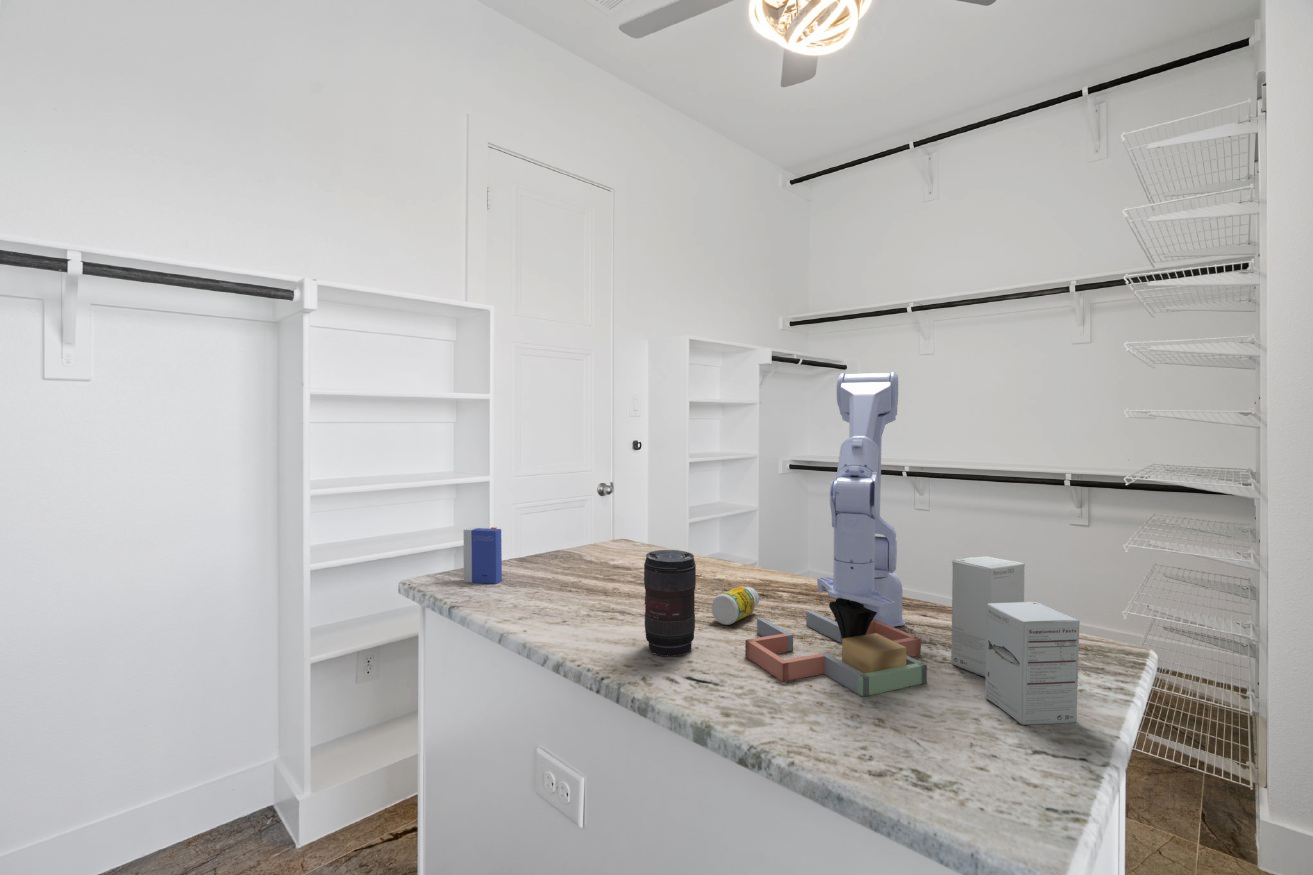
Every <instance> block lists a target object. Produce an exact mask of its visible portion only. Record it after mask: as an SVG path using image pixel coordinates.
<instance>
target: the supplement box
mask: <svg viewBox="0 0 1313 875" xmlns="http://www.w3.org/2000/svg"><path fill="white" fill-rule="evenodd" d="M1079 646H1080V620H1079V619H1077V618H1075V617H1073V616H1070V615H1068V614H1065V613H1063V612H1060V611H1058V610H1056V609H1053V608H1051V607H1049V606H1047V605H1045V604H1043V603H1040V602H1038V601H1037V602H1036V601H1024V602H1014V603H990V604H987V640H986V677H985V685H984V686H985V687H984V688H985V691H984V693H985V694H984V695H985V696H984V697H985V699H986V700H988V701H989V702H991V703H992V704H994V705H996V706H997V707H998V708H1000V710H1002V711H1004V712H1005V713H1006V714H1008V715H1009V716H1011V717H1012V718H1013V719H1014V720H1015V721H1017V722H1018V723H1019V724H1020V725H1023V726H1024V725H1025V726H1026V725H1027V726H1028V725H1050V724H1051V725H1052V724H1055V725H1056V724H1069V723H1070V724H1072V723H1076V722H1078V721H1077V719H1078V717H1077V716H1078V714H1077V713H1078V710H1077V709H1078V683H1079V681H1078V680H1079V654H1080V653H1079V650H1080V648H1079Z"/></svg>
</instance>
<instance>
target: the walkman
mask: <svg viewBox="0 0 1313 875" xmlns="http://www.w3.org/2000/svg"><path fill="white" fill-rule="evenodd" d="M502 554H503V553H502V528H498V527H497V526H496V527H494V526H493V527H490V528H489V527H487V528H485V527H482V528H481V527H469V528H465V529H463V583H473V584H476V583H477V584H490V585H491V584H492V585H497V584H498V583H500V582H502V581H503V580H502V579H503V574H502V573H503V571H502V570H503V567H502Z"/></svg>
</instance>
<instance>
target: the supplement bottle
mask: <svg viewBox="0 0 1313 875" xmlns="http://www.w3.org/2000/svg"><path fill="white" fill-rule="evenodd" d="M759 603H760V596H759V594H758V592H757V590H756V589H754V588H753V587H751V586H747V587H745V586H737V587H735V588H731V589H729V590H728V591H724V592H723V593H720V594H717V595H716V596H715V597H714V598H713V600H712V602H711V606H710V608H711V613H712V616H713V618H714V619H715V620H716V622H718V623H720V624H721V625H723V626H730V625H732V624H735V623H736V622H738V621H741V620H742V619H744V618H746V617H748V616H750V615H751V614H752V613H753V612H754V611H755V609H756V608H757V606H759Z"/></svg>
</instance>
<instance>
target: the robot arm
mask: <svg viewBox="0 0 1313 875" xmlns="http://www.w3.org/2000/svg"><path fill="white" fill-rule="evenodd" d="M836 404H837V406H838V409H839V415H840V416H841V418H842V421H844V422H846V423H849V424H848V425H849V427H848V430H849V433H848V434H849V435H848V437H849V438H847V439H845V440H844V441H842V443H841V445H840V446H839V447H840V448H839V456H838V464H837V472H836V478H835V480H834V479H832V480H831V483H830V488H829V508H830V512H831V513H830V514H831V528H833V571H832V572H833V576H832V577H829V576H822V577H817V579H816V580H817V583H816V584H817V585H816V586H817V588H816V589H817V591H819V592H826V593H827V596H830V597H832V598H834V599H835V600H833V601H829V602H828V603H829V604H828V606H829V609H830V610H831V612H832V615H833V618H834V619H835V622H837V624H838V626H839V630H840V633H841V637H842V639H843V638H849V637H855V636H862V635H866V633H867V630H868V628H869V625H870V623H871V622H872V620H873V619H875V620H878V621H880V622H883V623H885V624H887V625H890V626H892V627H894V628H896V627H901V626H902V627H903V626H906V624H907V623H906V621H904V620H903V585H902V581H901V580H900V578H899V576H898V575H897V574H896V573H895V572H896V571H897V560H898V559H897V558H898V557H897V556H898V554H897V553H898V549H897V547H898V543H897V531H896V530H895V527H893V525H892V524H890V523H889V522H888V521H886V520H885V519H884V518H882V517H881V488H882V486H881V485H882V482H881V480H882V478H881V477H882V437H883V433H884V431H885V427H886V425H888V424H890V423H893V422H894V421H896V418H897V417H896V416H898V404H899V376H898V374H897V373H896V372H895V371H891V372H874V373H871V372H870V373H869V372H867V373H866V372H865V373H845V372H842V373H840V375H839V376H838V377H837V380H836ZM876 535H877V536H876ZM878 535H882V536H878Z"/></svg>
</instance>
